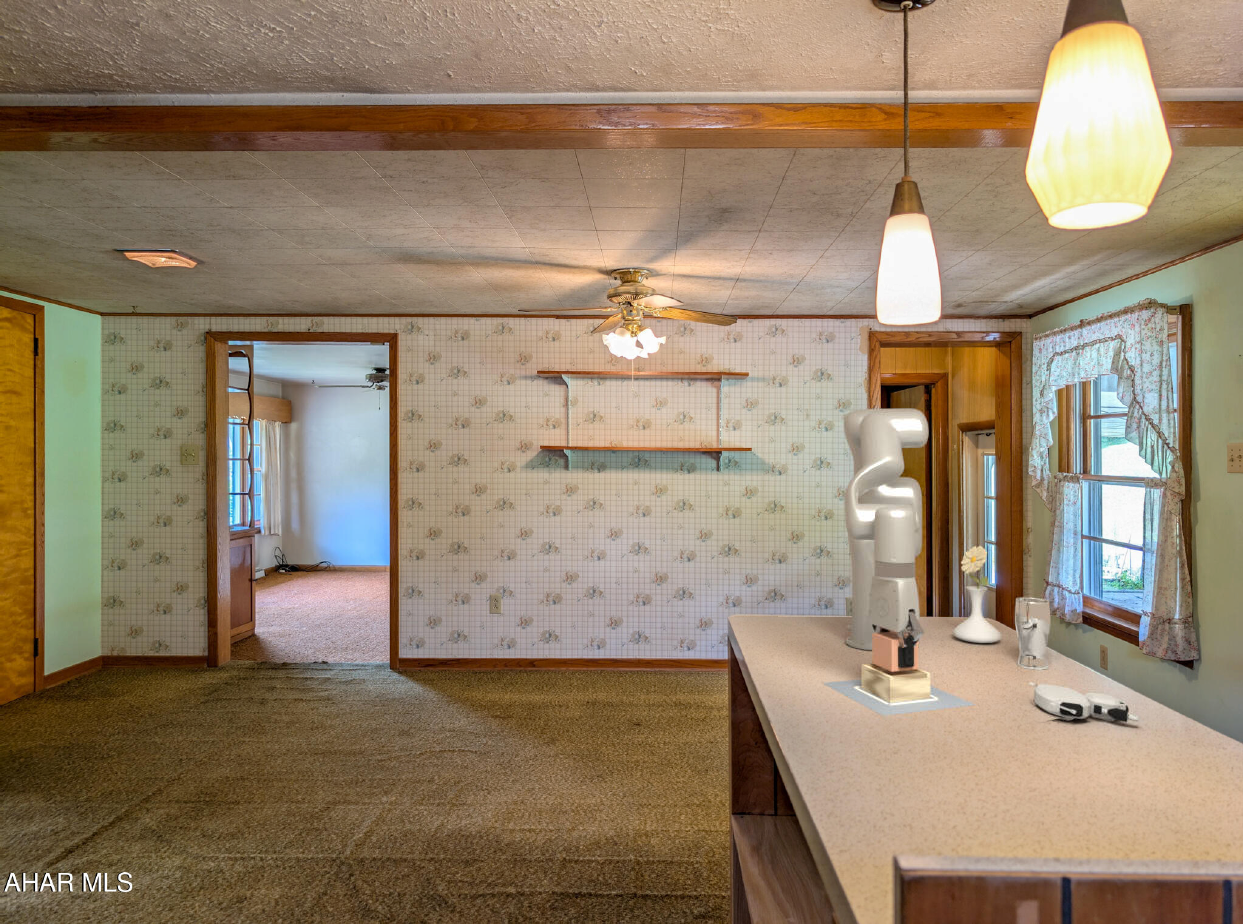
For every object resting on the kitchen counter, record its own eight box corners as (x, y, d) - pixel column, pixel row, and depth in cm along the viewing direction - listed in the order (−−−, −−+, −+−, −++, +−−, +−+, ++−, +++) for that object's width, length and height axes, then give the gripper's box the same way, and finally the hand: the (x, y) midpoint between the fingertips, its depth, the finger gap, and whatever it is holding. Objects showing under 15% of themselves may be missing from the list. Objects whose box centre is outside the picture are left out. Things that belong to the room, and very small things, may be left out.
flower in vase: (947, 634, 193) (947, 541, 193) (994, 636, 191) (993, 542, 191) (960, 647, 181) (959, 547, 181) (1010, 649, 178) (1009, 547, 178)
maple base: (861, 688, 144) (861, 664, 144) (899, 684, 147) (899, 660, 147) (890, 702, 136) (890, 677, 136) (930, 698, 138) (930, 673, 138)
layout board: (822, 687, 148) (822, 682, 148) (905, 679, 154) (905, 674, 154) (883, 721, 129) (883, 714, 129) (975, 709, 135) (975, 704, 135)
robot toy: (1112, 713, 135) (1024, 701, 139) (1114, 689, 135) (1026, 678, 139) (1143, 737, 123) (1045, 724, 127) (1145, 711, 123) (1047, 698, 127)
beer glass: (1041, 662, 166) (1041, 597, 166) (1056, 670, 160) (1056, 603, 160) (1010, 661, 167) (1009, 596, 167) (1023, 670, 160) (1023, 602, 160)
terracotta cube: (872, 663, 144) (872, 633, 144) (898, 660, 145) (898, 630, 145) (891, 671, 138) (891, 640, 138) (918, 668, 139) (918, 637, 139)
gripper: (852, 565, 149) (852, 652, 149) (907, 578, 132) (907, 676, 132) (883, 563, 151) (883, 650, 151) (941, 576, 134) (942, 673, 134)
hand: (894, 661), depth 141 cm, fingers closed on terracotta cube, 5 cm apart
